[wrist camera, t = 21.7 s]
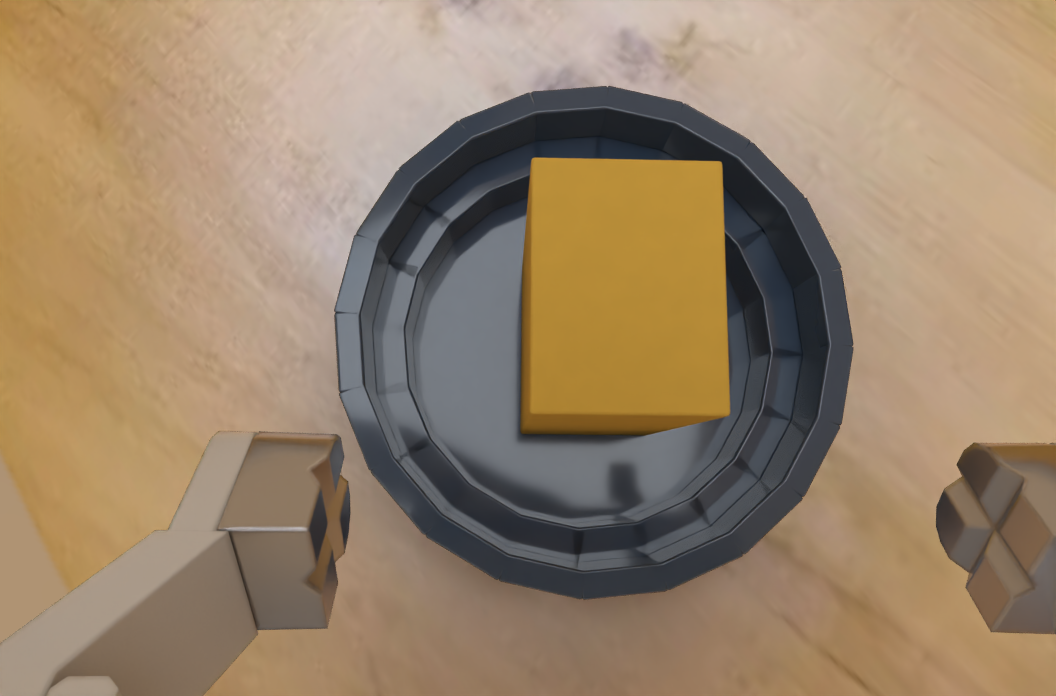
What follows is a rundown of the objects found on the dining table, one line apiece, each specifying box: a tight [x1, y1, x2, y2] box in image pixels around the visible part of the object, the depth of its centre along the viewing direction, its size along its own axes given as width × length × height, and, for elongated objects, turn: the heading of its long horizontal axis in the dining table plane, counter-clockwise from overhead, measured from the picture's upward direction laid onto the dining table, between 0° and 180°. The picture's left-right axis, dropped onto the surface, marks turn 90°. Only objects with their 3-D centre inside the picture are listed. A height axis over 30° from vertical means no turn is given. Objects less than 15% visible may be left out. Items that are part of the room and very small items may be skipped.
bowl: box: [334, 86, 853, 600], centre depth 26 cm, size 16×16×5 cm
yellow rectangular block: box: [520, 158, 730, 435], centre depth 22 cm, size 4×6×10 cm
